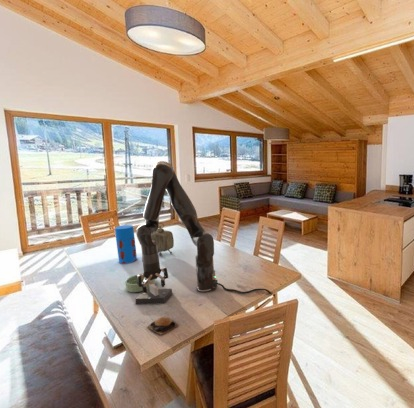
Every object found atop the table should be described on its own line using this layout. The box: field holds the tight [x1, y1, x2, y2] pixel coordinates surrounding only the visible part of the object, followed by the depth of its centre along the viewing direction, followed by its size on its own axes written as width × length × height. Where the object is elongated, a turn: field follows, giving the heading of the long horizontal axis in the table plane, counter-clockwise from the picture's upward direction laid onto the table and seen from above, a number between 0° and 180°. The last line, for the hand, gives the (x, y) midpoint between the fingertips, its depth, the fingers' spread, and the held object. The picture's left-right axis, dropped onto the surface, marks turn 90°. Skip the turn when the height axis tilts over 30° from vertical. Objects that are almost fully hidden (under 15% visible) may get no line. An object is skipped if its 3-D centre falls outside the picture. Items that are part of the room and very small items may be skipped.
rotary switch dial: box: [135, 287, 173, 305], centre depth 146 cm, size 14×11×3 cm
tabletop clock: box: [151, 222, 175, 257], centre depth 207 cm, size 14×9×25 cm, turn 79°
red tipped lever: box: [149, 283, 159, 296], centre depth 145 cm, size 7×2×5 cm, turn 50°
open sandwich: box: [147, 316, 178, 336], centre depth 122 cm, size 11×8×4 cm
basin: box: [124, 273, 157, 293], centre depth 159 cm, size 15×15×5 cm
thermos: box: [114, 224, 138, 265], centre depth 195 cm, size 11×11×25 cm
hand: (154, 289), depth 146 cm, fingers open, 8 cm apart
